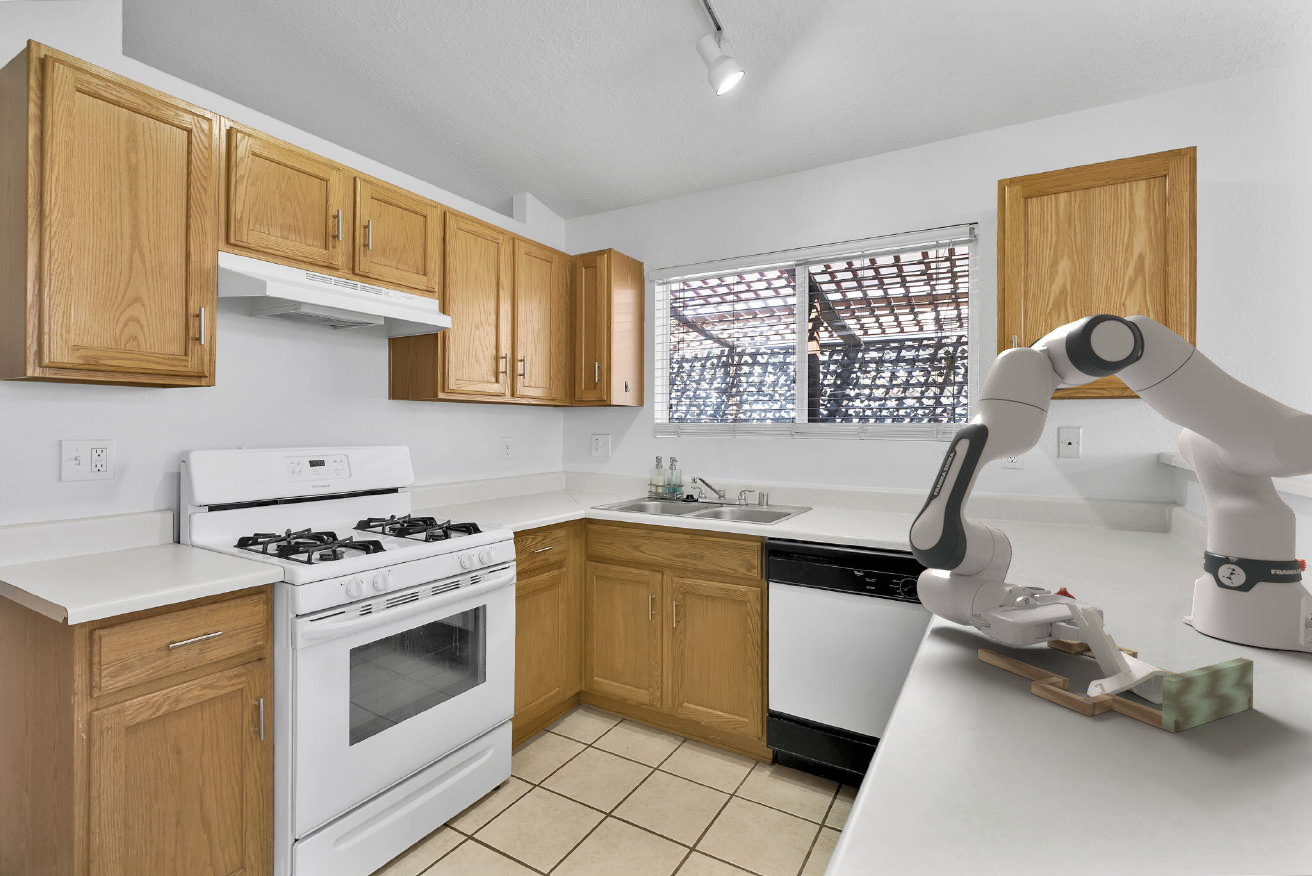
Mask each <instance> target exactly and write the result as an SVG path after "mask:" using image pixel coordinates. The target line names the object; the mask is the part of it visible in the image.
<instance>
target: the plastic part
mask: <svg viewBox="0 0 1312 876" xmlns="http://www.w3.org/2000/svg"><path fill="white" fill-rule="evenodd" d="M1073 601H1075V600H1074V599H1071V598H1070V599H1069V600H1067V601H1065V603H1066V605H1067V606H1068V608H1069V610H1070V612H1071V614H1072V615H1073V617H1074V619H1075V621H1076V623H1077V625H1078V627H1079V628H1080V630H1081V632H1082V634H1083V636H1084V638H1085V640H1086V641H1087V643H1088V645H1089V647H1090V649H1091V651H1092V653H1093V654H1094V656H1095V658H1096V659H1095V658H1094V659H1095V660H1096V662H1097V663H1098V666H1099V667H1100V670H1101V672H1102V673H1103V675H1104V677H1105V678H1101V679H1094V680H1091V681H1090V683H1089V686H1088V689H1087V692H1086V695H1087V697H1088V698H1090V697H1094V696H1098V695H1102V694H1105V693H1110V694H1113V695H1117V694H1120V693H1122V692H1123V693H1124V692H1125V691H1127V690H1128V691H1130V692H1132V693H1134V694H1136V695H1137V696H1140V697H1141V698H1143V699H1146V700H1147V701H1149V702H1151V703H1153V704H1155V705H1160V704H1162V689H1163V677H1167V676H1171V674H1170V673H1168V672H1166V671H1164V670H1161V669H1162V668H1161V669H1159V668H1160V667H1158V666H1155V667H1154V665H1152V664H1150V663H1147V662H1145V661H1143V660H1141V659H1138V658H1137V659H1136V658H1133V657H1131V656H1130V655H1128V654H1125V653H1123V652H1121V651H1120V650H1119V648H1118V647H1117V646H1118V645H1117V644H1116V641H1115V640H1114V638H1113V636H1112V635H1111V633H1108V634H1106V632H1105V630H1104V626H1105V623H1104V621H1102V619H1101V617H1100V616H1099V614H1098V612H1097V608H1096V607H1094V606H1091V607H1089V608H1085V607H1083V608H1081V610H1082V612H1083V614H1084V616H1085V618H1086V619H1085V618H1084V616H1083V615H1082V613H1081V612H1080V610H1079V609H1078V607H1077V606H1076V605H1075V604H1074V603H1072V602H1073ZM1086 620H1087V621H1086ZM1102 627H1103V629H1102ZM1157 667H1158V668H1157Z"/></svg>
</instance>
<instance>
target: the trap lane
mask: <svg viewBox="0 0 1312 876" xmlns="http://www.w3.org/2000/svg"><path fill="white" fill-rule="evenodd" d="M1046 646H1048V647H1051V648H1052V649H1053V648H1054V649H1057V650H1060V651H1062V652H1067V653H1068V654H1069V653H1070V654H1076V653H1077V654H1080V655H1083V656H1086V657H1090V658H1092V659H1095V660H1096V658H1095V656H1094V654H1093V653H1092V651H1091V649H1090V647H1089V645H1088V644H1086V643H1083V642H1080V641H1072V640H1063V639H1058V640H1053V641H1048V642H1046ZM1117 647H1118V648H1119V650H1120V651H1121V652H1123V653H1125V654H1128V655H1130V656H1131V657H1133V658H1136V659H1138V651H1136V650H1133V649H1129V648H1126V647H1123V646H1119V645H1117ZM977 660H980V661H983V662H985V663H987V664H990V665H992V666H995V667H998V668H1000V669H1003V670H1006V671H1009V672H1011V673H1014V674H1016V675H1020V676H1022V677H1024V678H1027V679H1029V680H1032V681H1031V686H1030V687H1031V689H1030V690H1031V694H1033V695H1035V696H1038V697H1041V698H1042V699H1045V700H1047V701H1050V702H1053V703H1055V704H1058V705H1061V706H1062V707H1065V708H1068V709H1071V710H1072V711H1075V712H1077V713H1080V714H1082V715H1084V716H1087V717H1092V716H1095V715H1100V714H1101V713H1102V714H1103V713H1106V712H1110V711H1114V712H1117V713H1120V714H1123V715H1125V716H1128V717H1131V718H1133V719H1136V720H1138V721H1140V722H1144V723H1146V724H1149V725H1152V726H1154V727H1157V728H1159V729H1162V730H1164V731H1168V732H1170V733H1172V734H1177V733H1179V732H1182V731H1185V730H1188V729H1192V728H1194V727H1199V726H1201V725H1203V724H1208V723H1210V722H1214V721H1216V720H1219V719H1222V718H1226V717H1229V716H1232V715H1236V714H1239V713H1241V712H1244V711H1248V710H1251V709H1253V707H1254V660H1252V659H1248V658H1243V657H1239V658H1233V659H1230V660H1227V661H1223V662H1218V663H1214V664H1210V665H1207V666H1204V667H1198V668H1195V669H1191V670H1187V671H1184V672H1174V671H1171V670H1167V669H1165V668H1161V667H1158V666H1154V665H1153V666H1154V667H1157V668H1159V669H1161V670H1164V671H1166V672H1168V673H1170V674H1171V676H1167V677H1163V689H1162V705H1161V706H1162V708H1161V710H1162V711H1161V710H1157V709H1155V708H1151V707H1149V706H1146V705H1143V704H1141V703H1138V702H1136V701H1132V700H1130V699H1126V698H1124V697H1121V696H1118V695H1117V694H1115V695H1113V694H1110V693H1105V694H1102V695H1098V696H1094V697H1084V696H1082V695H1079V694H1077V693H1074V692H1072V691H1069V689H1070V688H1069V677H1064V676H1062V675H1060V674H1056V673H1054V672H1051V671H1049V670H1045V669H1043V668H1040V667H1037V666H1034V665H1031V664H1029V663H1026V662H1022V661H1020V660H1017V659H1014V658H1012V657H1009V656H1006V655H1003V654H1001V653H998V652H995V651H992V650H990V649H987V648H978V649H977Z"/></svg>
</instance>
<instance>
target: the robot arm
mask: <svg viewBox="0 0 1312 876" xmlns="http://www.w3.org/2000/svg"><path fill="white" fill-rule="evenodd" d="M1110 376H1115V377H1117V378H1118V379H1119V380H1121V382H1122V383H1124V385H1126V386H1127V387H1128V388H1129V389H1130V390H1131V391H1132V392H1134V394H1135V395H1137V396H1138V397H1140V398H1141V400H1143V401H1144V402H1145V403H1146V404H1148V405H1149V406H1150V407H1151V408H1152V409H1153V410H1155V411H1156V412H1157V413H1158V414H1159V415H1161V417H1163V418H1164V419H1165V420H1167V421H1169V422H1171V423H1173V424H1175V425H1179V426H1181V427H1183V429H1181V430H1182V431H1181V432H1180V433H1179V436H1178V441H1177V443H1178V444H1177V447H1178V450H1179V453H1180V455H1181V457H1182V458H1183V459H1184V461H1185V462H1187V463H1188V465H1190V466H1191V467H1192V469H1193V471H1194V473H1195V475H1196V478H1197V480H1198V483H1199V486H1200V488H1201V489H1200V490H1201V492H1202V496H1203V499H1204V503H1205V508H1206V509H1205V510H1206V525H1207V526H1206V530H1207V532H1206V534H1207V538H1206V539H1207V540H1206V541H1207V542H1206V543H1207V544H1206V550H1205V551H1204V553H1203V558H1202V563H1203V571H1204V572H1205V573H1204V574H1203V575H1202V576H1200V577H1199V578H1197V579H1196V580H1195V583H1194V590H1193V599H1192V608H1191V609H1192V610H1191V615H1185V616H1183V621H1182V622H1183V623H1185V624H1187V625H1190V626H1192V627H1193V628H1194V629H1195V630H1196V631H1197V632H1200V633H1202V634H1204V635H1207V636H1210V637H1214V638H1217V639H1221V640H1225V641H1229V642H1233V643H1237V644H1243V645H1247V646H1248V645H1249V646H1254V647H1259V648H1267V649H1276V650H1277V649H1278V650H1287V651H1289V650H1290V651H1299V652H1306V653H1312V594H1311V592H1309V590H1308V589H1307V588H1306V587H1305V586H1304V585H1303V584H1302V582H1301V581H1303V576H1302V572H1304V571H1306V568H1307V562H1306V560H1305V559H1303V558H1299V559H1298V558H1296V548H1297V547H1296V540H1297V539H1296V533H1297V532H1296V531H1297V525H1296V523H1297V522H1296V521H1297V517H1296V514H1295V512H1294V510H1293V509H1292V507H1290V506H1289V505H1288V504H1287V503H1286V502H1285V501H1284V500H1282V498H1281V497H1280V495H1279V493H1278V491H1277V489H1276V488H1275V485H1274V482H1273V479H1272V478H1280V479H1281V478H1284V479H1285V478H1286V479H1287V478H1292V477H1299V476H1306V475H1311V474H1312V413H1311V414H1310V413H1308V412H1305V411H1303V410H1302V411H1301V410H1298V409H1295V408H1293V407H1291V406H1289V405H1286V404H1284V403H1283V402H1280V401H1278V400H1276V399H1274V398H1272V397H1270V396H1268V395H1266V394H1264V393H1263V392H1260V391H1258V390H1256V389H1254V388H1253V387H1250V386H1248V385H1247V384H1245V383H1243V382H1241V381H1239V380H1238V379H1236V378H1234V377H1233V376H1232V375H1230V374H1229V373H1227V372H1225V370H1223V369H1222V368H1221V367H1220V366H1218V365H1217V364H1216V363H1214V361H1212V360H1211V359H1210V358H1208V357H1207V356H1206V355H1205V354H1204V353H1202V352H1201V351H1200V350H1198V349H1197V348H1196V347H1195V346H1194V345H1192V344H1191V343H1190V342H1189V341H1187V340H1186V339H1185V338H1183V337H1182V336H1181V335H1179V334H1178V333H1176V332H1175V331H1174V330H1172V329H1171V328H1169V327H1167V326H1165V325H1164V324H1162V323H1160V322H1159V321H1157V320H1154V319H1153V318H1151V317H1149V316H1147V315H1144V314H1143V315H1141V314H1135V315H1134V314H1133V315H1128V316H1126V317H1121V316H1118V315H1115V314H1108V313H1107V314H1106V313H1098V314H1092V315H1088V316H1084V317H1081V318H1080V319H1079V320H1075V321H1072V322H1070V323H1067V324H1064V325H1061V326H1059V327H1057V328H1055V329H1054V330H1052V331H1051V332H1050V333H1048V334H1046V335H1045V336H1042V337H1040V338H1038V339H1036V340H1035V341H1033V342H1032V343H1031V344H1029V346H1028V347H1022V346H1021V347H1013V348H1009V349H1006V350H1003V351H1002V352H1000V353H999V354H998V355H997V356H996V357H995V359H994V361H993V363H992V364H991V367H990V368H989V371H988V373H987V376H986V377H985V380H984V382H983V385H982V388H981V390H980V394H979V397H978V401H977V404H976V406H975V407H976V408H975V411H974V412H973V414H972V417H971V418H970V421H968V424H965V425H963V426H962V427H961V428H959V430H958V431H957V432H956V434H955V436H954V437H953V439H952V441H951V443H950V445H949V447H948V449H947V450H946V453H945V456H944V458H943V460H942V463H941V465H940V468H939V470H938V473H937V474H936V476H935V480H934V482H933V484H932V487H931V489H930V491H929V493H928V497H927V498H926V500H925V502H924V504H923V506H922V508H921V509H920V511H919V513H918V514H917V515H916V517H915V519H914V520H913V521H912V524H911V525H910V529H909V534H908V542H909V546H910V550H911V552H912V554H913V556H914V558H915V560H916V561H917V562H918V563H919V564H920V565H922V567H926V568H927V569H925V570H923V571H922V572H921V573H920V575H919V577H918V579H917V583H916V591H917V595H918V599H919V600H920V602H921V604H922V606H924V608H925V609H926V610H928V611H929V612H930V613H933V614H934V615H936V616H937V617H940V618H941V619H944V620H947V621H949V622H952V623H956V624H958V625H959V626H960V625H961V626H966V627H973V628H975V629H976V630H978V631H980V632H981V633H982V634H983V635H986V636H987V637H990V638H992V639H995V640H996V641H1000V642H1002V643H1004V644H1006V645H1009V646H1010V645H1011V646H1015V647H1026V646H1032V645H1037V644H1043V643H1047V642H1048V641H1053V640H1058V639H1063V640H1068V641H1071V640H1072V641H1080V642H1083V643H1086V644H1088V643H1087V641H1086V640H1085V638H1084V636H1083V634H1082V632H1081V630H1080V628H1079V627H1078V625H1077V623H1076V621H1075V619H1074V617H1073V615H1072V614H1071V612H1070V610H1069V608H1068V606H1067V605H1066V603H1065V601H1067V600H1069V599H1070V598H1069V597H1065V596H1061V595H1056V594H1055V593H1052V591H1051V589H1049V588H1045V587H1042V586H1041V587H1040V586H1024V585H1023V586H1021V585H1019V584H1014V583H1008V582H1005V580H1006V577H1007V575H1008V574H1007V573H1008V571H1009V569H1010V565H1011V561H1012V555H1013V549H1012V545H1011V542H1010V540H1009V538H1008V537H1007V535H1006V534H1005V532H1003V531H1002V530H1000V529H998V528H996V527H995V526H991V525H988V524H985V523H982V522H979V521H975V520H973V519H969V518H966V517H965V509H966V506H967V504H968V501H969V499H970V496H971V494H972V491H973V489H974V487H975V485H976V482H977V480H978V477H979V475H980V472H981V471H982V470H983V468H984V467H985V466H987V464H989V463H991V462H993V461H997V460H1001V459H1002V460H1003V459H1010V458H1015V457H1019V456H1021V455H1023V454H1026V453H1027V452H1029V451H1030V450H1033V448H1035V447H1036V445H1037V444H1038V442H1039V440H1040V438H1042V434H1043V432H1044V429H1045V426H1046V422H1047V417H1048V413H1049V408H1050V404H1051V399H1052V397H1053V394H1054V392H1056V391H1062V390H1066V389H1069V388H1075V387H1081V386H1085V385H1088V384H1092V382H1094V381H1097V380H1099V379H1100V380H1101V379H1102V378H1106V377H1110ZM1071 599H1072V598H1071ZM1076 599H1077V598H1076ZM1076 599H1074V600H1075V601H1073V602H1072V603H1074V604H1075V605H1076V606H1077V607H1078V609H1079V610H1080V612H1081V613H1082V615H1083V616H1084V614H1083V612H1082V610H1081V608H1083V607H1085V608H1089V607H1091V606H1094V607H1096V608H1097V612H1098V614H1099V616H1100V617H1101V619H1102V621H1103V622H1104V610H1103V609H1101V608H1100V607H1099V606H1096V605H1094V604H1092V603H1088V602H1086V601H1082V600H1078V599H1077V600H1076ZM1084 618H1085V616H1084ZM1085 619H1086V618H1085ZM1086 621H1087V620H1086ZM1102 629H1103V630H1104V626H1103V627H1102Z"/></svg>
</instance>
